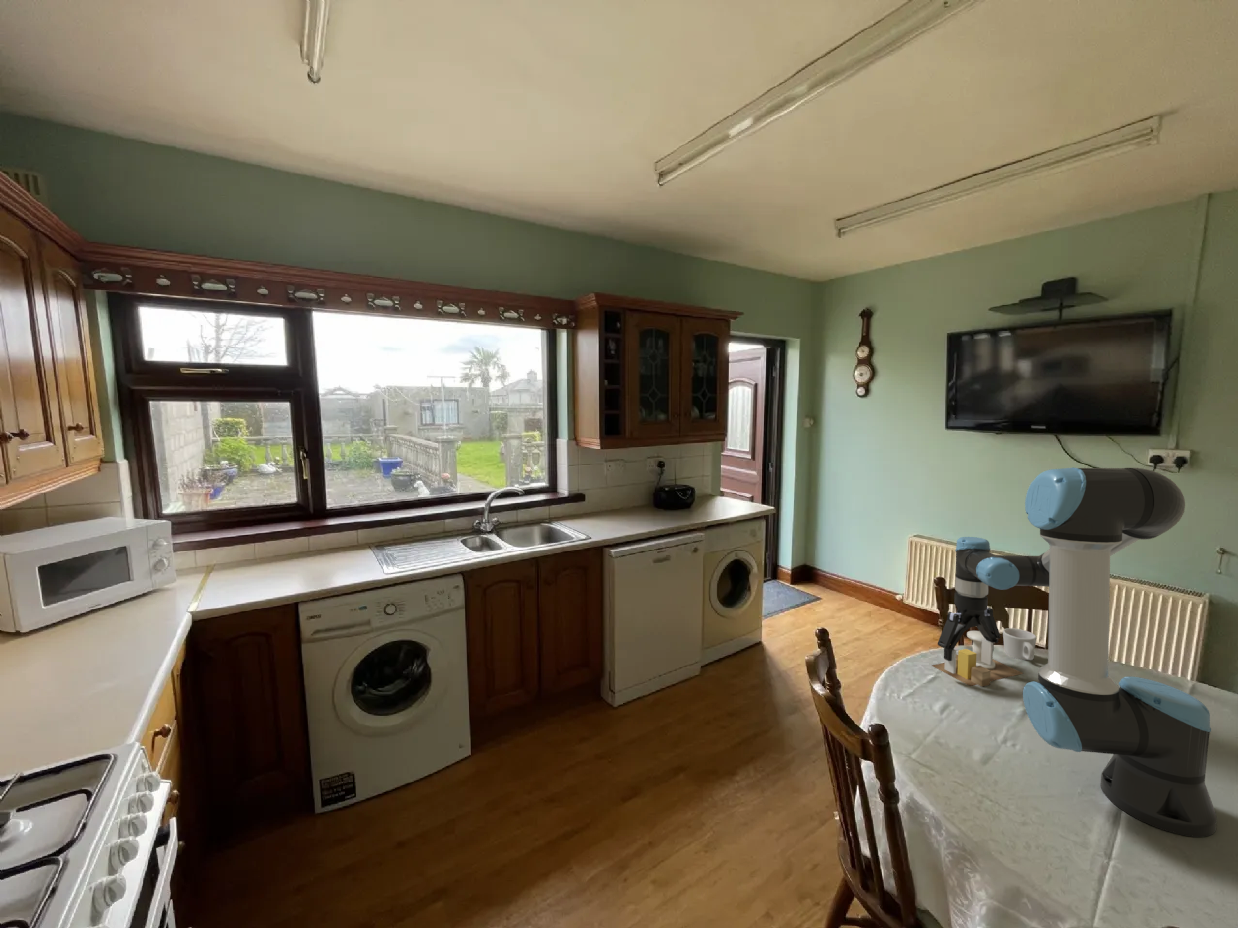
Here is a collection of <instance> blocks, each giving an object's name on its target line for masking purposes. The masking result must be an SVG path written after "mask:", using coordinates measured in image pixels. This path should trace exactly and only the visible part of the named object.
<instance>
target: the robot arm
mask: <svg viewBox="0 0 1238 928" xmlns="http://www.w3.org/2000/svg"><path fill="white" fill-rule="evenodd" d="M1024 504H1025V505H1024V506H1025V514H1026V515H1027V520H1028V521H1029V522H1030V524H1031V525H1032V526H1034V527H1035V528H1037V529H1039V535H1040V537H1041V539H1043V540H1044V541H1046V542H1047V543H1048V545H1049V549H1047V550H1046V551H1044V552H1043V553H1041V554H1040V555H1018V554H1017V555H1012V554H1011V555H1010V554H1004V555H1003V554H995V553H992V552H990V551H991V546H990V541H989V540H987V539H986V538H982V537H975V536H961V537H958V538H957V540H956V546H955V580H954V581H955V585H954V589H955V592H954V605H955V607H956V608H957V609H956V612H951V611H948V612H947V617H946V621H945V624H944V626H943V628H942V632H941V634H940V636H939V639H938V642H937V646H938V647H941V648H943V659H944V663H945V667H944V669H945V670H947V671H949V672H951V673H953V674H954V673H956V654H957V650H956V649H955V648H956V646H957V645H958V644H959V643H958V642H959V641H960V640H961V638H962V637H963V635H964V633H965V632H966V631H967V632H968V630H969V629H972V628H973V627H976V628H977V631H980V632H981V634H982V635H983V637H984V638H985V639H986V640H985V639H982V648H981V662H984V663H986V664H988V665H990V666H991V665H992V661H993V659H994V658H993V657H994V656H993V655H994V649H995V648H994V645H995V644H998V643H999V639H1001V637H1002V636H1001V633H1000V632H999V628H998V625H997V622H996V619H995V617H994V609H993V608H991V607H988V605H989V604H988V603H989V602H988V599H989V597H988V596H987V595H989V587H991V588H993V589H996V590H1003V591H1005V590H1009V589H1010V588H1011V589H1012V588H1013V587H1015V586H1021V587H1048V645H1047V648H1048V651H1047V663H1045V664H1043V666H1041V667H1038V670H1037V681H1030V682H1027V683H1026V684H1025V686H1023V691H1022V699H1023V705H1024V708H1025V711H1026V715H1027V717H1028V719H1029V721H1030V723H1031V725H1032V727H1033V729H1034V730H1035V732H1036V734H1038V736H1039V737H1040V738H1042V740H1043V741H1044V742H1045V743H1047V744H1048V745H1050V746H1051V747H1053V748H1056V749H1060V750H1061V749H1062V750H1068V751H1073V752H1076V753H1081V752H1084V753H1094V754H1095V753H1098V754H1109V755H1110V754H1111V755H1112V756H1111V758H1110V759H1109V761H1108V762H1107V764H1106V765H1105V767H1104V769H1103V770H1102V772H1101V774H1100V790H1101V791H1102V793H1103V794H1104V795H1105V797H1106V798H1107V799H1108V800H1109V801H1110V802H1111V803H1112V804H1113V805H1115V806H1116V807H1117V808H1119V809H1120V810H1121V811H1123V812H1125V813H1126V814H1128V815H1129V816H1131V817H1134V818H1135V819H1137V820H1139V821H1140V822H1143V823H1146V824H1148V825H1150V826H1152V827H1154V828H1157V829H1160V830H1163V831H1166V832H1169V833H1173V834H1177V835H1179V836H1180V835H1181V836H1185V837H1193V838H1194V837H1195V838H1202V837H1204V838H1205V837H1209V836H1211V835H1213V834H1214V833H1215V832H1216V830H1217V824H1218V823H1217V822H1218V820H1217V813H1216V810H1215V808H1214V804H1213V802H1212V799H1211V796H1210V793H1209V791H1208V787H1207V785H1206V773H1207V772H1206V771H1207V762H1208V761H1207V760H1208V759H1207V758H1208V752H1209V751H1208V750H1209V744H1210V742H1209V741H1210V734H1211V732H1212V728H1211V713H1210V710H1209V709H1208V707H1207V706H1206V705H1205V704H1204V703H1203V702H1202V701H1200V700H1199V699H1198V698H1196V697H1194V696H1193V695H1191V694H1189V693H1187V692H1185V691H1183V690H1180V689H1178V688H1176V687H1173V686H1171V685H1168V684H1165V683H1163V682H1159V681H1156V680H1153V679H1149V678H1143V677H1137V676H1132V675H1131V676H1124V677H1122V678H1121V679H1120V681H1119V682H1118V683H1116V682H1115V681H1114V680H1113V678H1111V677H1110V676H1109V651H1110V648H1109V647H1110V645H1109V643H1110V638H1109V637H1110V593H1111V591H1110V589H1111V588H1110V587H1111V586H1110V584H1111V581H1110V579H1111V556H1114V555H1115V554H1117V553H1118V552H1120V551H1122V550H1123V549H1125V548H1127V547H1129V546H1130V545H1132V544H1134V543H1136V542H1137V541H1139V540H1151V539H1152V540H1153V539H1155V538H1157V537H1159V536H1161V535H1162V534H1164V533H1167V532H1168V531H1169V530H1171V529H1172V528H1174V527H1175V526H1176V525H1177V524H1178V522H1180V521H1181V519H1182V517H1183V515H1184V514H1185V509H1186V500H1185V497H1184V494H1183V492H1182V490H1181V488H1180V487H1179V486H1178V485H1177V484H1176V482H1175V481H1173V480H1172V479H1171V478H1169V477H1167V476H1165V475H1164V474H1162V473H1160V472H1157V471H1155V470H1152V469H1147V468H1142V467H1064V468H1054V469H1053V468H1052V469H1047V470H1044V471H1042V472H1040V473H1039V474H1037V476H1036V477H1035V478H1034V479H1033V480H1032V481H1031V482H1030V484H1029V486H1028V489H1027V491H1026V496H1025V502H1024ZM994 642H995V643H994Z"/></svg>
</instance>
